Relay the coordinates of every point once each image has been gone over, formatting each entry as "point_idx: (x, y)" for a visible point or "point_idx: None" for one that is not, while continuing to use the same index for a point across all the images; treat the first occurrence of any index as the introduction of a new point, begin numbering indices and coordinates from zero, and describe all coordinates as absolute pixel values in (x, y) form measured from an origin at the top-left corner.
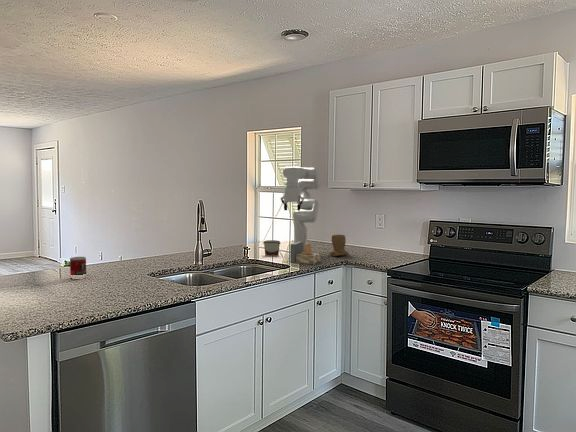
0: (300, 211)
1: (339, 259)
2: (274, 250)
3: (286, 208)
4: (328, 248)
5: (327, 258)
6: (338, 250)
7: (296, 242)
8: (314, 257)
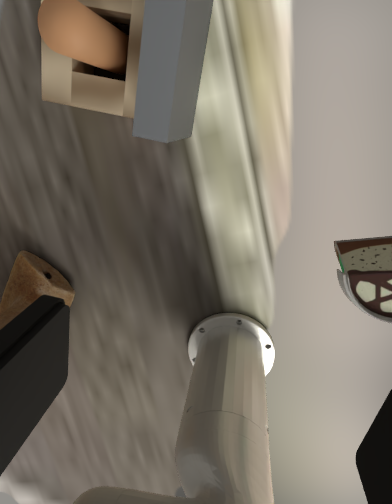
0: None
1: (3, 193)
2: (368, 250)
3: (383, 470)
4: (136, 454)
5: (62, 208)
6: (22, 296)
7: (172, 76)
8: None
